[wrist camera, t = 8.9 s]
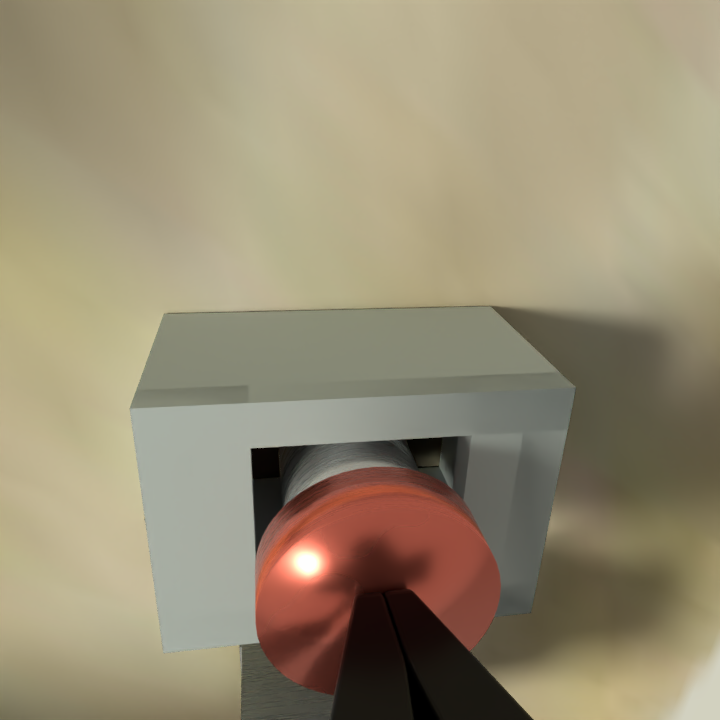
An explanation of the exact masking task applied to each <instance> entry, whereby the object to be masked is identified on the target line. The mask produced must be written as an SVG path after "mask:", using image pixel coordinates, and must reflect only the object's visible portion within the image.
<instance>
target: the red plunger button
mask: <svg viewBox="0 0 720 720" xmlns="http://www.w3.org/2000/svg"><path fill="white" fill-rule="evenodd" d="M278 455H279V467H280V480H281V493H282V506H283V508H282V509H281V510H280V511H279V512H278V513H277V514H276V516H275V517H274V518H273V520H272V521H271V522H270V524H269V525H268V527H267V529H266V531H265V532H264V534H263V536H262V538H261V541H260V544H259V546H258V550H257V555H256V559H255V624H256V631H257V637H258V640H259V643H260V646H261V648H262V650H263V652H264V653H265V655H266V657H267V658H268V660H269V661H270V662H271V663H272V665H273V666H274V667H275V668H276V669H277V670H278V671H280V672H281V673H282V674H283V675H284V676H286V677H287V678H289V679H290V680H292V681H293V682H295V683H297V684H299V685H301V686H303V687H305V688H308V689H311V690H314V691H317V692H320V693H325V694H330V695H334V692H335V687H336V682H337V677H338V672H339V668H340V663H341V658H342V653H343V648H344V643H345V638H346V634H347V629H348V624H349V619H350V614H351V609H352V604H353V600H354V597H355V595H357V594H361V593H371V592H380V593H382V594H384V593H385V592H386V591H391V590H401V589H410V590H412V591H413V592H415V593H416V595H417V596H418V597H419V598H420V599H421V600H422V601H423V602H424V603H425V604H426V605H427V606H428V607H429V608H430V610H431V611H432V612H433V613H434V614H435V615H436V616H437V617H438V618H439V619H440V620H441V621H442V622H443V623H444V625H445V626H446V627H447V628H448V629H449V630H450V631H451V632H452V633H453V634H454V635H455V636H456V637H457V638H458V640H459V641H460V642H461V643H462V644H463V645H464V646H465V647H466V648H467V649H468V650H469V651H471V650H472V649H473V648H474V647H475V646H476V644H477V643H478V642H479V641H480V639H481V638H482V637H483V635H484V634H485V633H486V631H487V629H488V628H489V626H490V624H491V623H492V621H493V618H494V616H495V613H496V611H497V607H498V603H499V599H500V591H501V582H500V573H499V569H498V565H497V562H496V560H495V558H494V556H493V554H492V552H491V550H490V548H489V546H488V544H487V542H486V540H485V538H484V536H483V534H482V532H481V530H480V528H479V526H478V524H477V522H476V521H475V519H474V517H473V515H472V513H471V511H470V509H469V507H468V506H467V504H466V503H465V502H464V500H463V499H462V498H461V497H460V496H459V495H458V494H457V493H456V492H455V491H454V490H453V489H452V488H451V487H449V486H448V485H446V484H445V483H444V482H442V481H440V480H438V479H436V478H434V477H432V476H430V475H427V474H425V473H422V472H419V469H418V467H417V465H416V462H415V460H414V458H413V455H412V453H411V451H410V448H409V446H408V444H407V442H406V439H401V440H385V441H368V442H351V443H334V444H317V445H300V446H283V447H278Z"/></svg>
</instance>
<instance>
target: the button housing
mask: <svg viewBox="0 0 720 720" xmlns="http://www.w3.org/2000/svg"><path fill="white" fill-rule="evenodd" d="M575 391H576V387H575V386H574V385H573V384H572V383H571V382H570V381H569V380H568V379H567V378H566V377H564V376H563V375H562V374H561V373H560V372H559V371H558V370H557V369H556V368H555V367H554V366H553V365H552V364H551V363H550V362H549V361H548V360H547V359H545V358H544V357H543V356H542V355H541V354H540V353H539V352H538V351H537V350H536V349H535V348H534V347H533V346H532V345H531V344H530V343H529V342H528V341H526V340H525V339H524V338H523V337H522V336H521V335H520V334H519V333H518V332H517V331H516V330H515V329H514V328H513V327H512V326H511V325H510V324H509V323H507V322H506V321H505V320H504V319H503V318H502V317H501V316H500V315H499V314H498V313H497V312H496V311H495V310H494V309H493V308H492V307H491V306H479V307H436V308H394V309H351V310H309V311H267V312H224V313H182V314H164V315H163V318H162V321H161V323H160V326H159V329H158V332H157V335H156V337H155V340H154V343H153V346H152V348H151V351H150V354H149V357H148V360H147V362H146V365H145V368H144V371H143V373H142V376H141V379H140V382H139V384H138V387H137V390H136V393H135V396H134V398H133V401H132V404H131V407H130V414H131V421H132V429H133V436H134V443H135V450H136V457H137V465H138V472H139V479H140V486H141V494H142V501H143V508H144V515H145V523H146V530H147V537H148V544H149V552H150V559H151V566H152V573H153V581H154V588H155V595H156V602H157V609H158V617H159V624H160V631H161V638H162V646H163V653H171V652H180V651H189V650H198V649H207V648H216V647H225V646H235V645H244V644H253V643H259V640H258V637H257V631H256V624H255V559H256V555H257V550H258V546H259V544H260V541H261V538H262V536H263V534H264V532H265V531H266V529H267V527H268V525H269V524H270V522H271V521H272V520H273V518H274V517H275V516H276V514H277V513H278V512H279V511H280V510H281V509H282V508H283V506H282V493H281V480H280V477H278V478H264V479H253V476H252V454H251V448H266V447H283V446H300V445H317V444H334V443H351V442H368V441H385V440H401V439H418V438H435V437H442V444H441V454H440V464H439V467H428V468H418V469H419V472H422V473H425V474H427V475H430V476H432V477H434V478H436V479H438V480H440V481H442V482H444V483H445V484H446V485H448V486H449V487H451V488H452V489H453V490H454V491H455V492H456V493H457V494H458V495H459V496H460V497H461V498H462V499H463V500H464V502H465V503H466V504H467V506H468V507H469V509H470V511H471V513H472V515H473V517H474V519H475V521H476V522H477V524H478V526H479V528H480V530H481V532H482V534H483V536H484V538H485V540H486V542H487V544H488V546H489V548H490V550H491V552H492V554H493V556H494V558H495V560H496V562H497V565H498V569H499V573H500V582H501V591H500V599H499V603H498V607H497V611H496V613H495V616H494V617H499V616H508V615H517V614H526V613H531V610H532V605H533V600H534V595H535V590H536V585H537V580H538V575H539V570H540V565H541V560H542V555H543V550H544V545H545V540H546V535H547V530H548V525H549V520H550V515H551V510H552V505H553V501H554V496H555V491H556V486H557V481H558V476H559V471H560V466H561V461H562V456H563V451H564V446H565V441H566V436H567V431H568V426H569V421H570V416H571V411H572V406H573V401H574V396H575Z"/></svg>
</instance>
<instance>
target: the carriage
mask: <svg viewBox="0 0 720 720" xmlns="http://www.w3.org/2000/svg"><path fill="white" fill-rule="evenodd" d="M240 661H241V676H242V685H241V720H329V716H330V711H331V706H332V702H333V697H334V695H330V694H325V693H320V692H317V691H314V690H311V689H308V688H305V687H303V686H301V685H299V684H297V683H295V682H293V681H292V680H290V679H289V678H287V677H286V676H284V675H283V674H282V673H281V672H280V671H278V670H277V669H276V668H275V667H274V666H273V665H272V663H271V662H270V661H269V660H268V658H267V657H266V655H265V653H264V652H263V650H262V648H261V646H260V643H253V644H244V645H240Z"/></svg>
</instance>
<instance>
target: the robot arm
mask: <svg viewBox="0 0 720 720" xmlns="http://www.w3.org/2000/svg"><path fill="white" fill-rule="evenodd" d="M329 720H533V719H532V718H531V717H530V716H529V714H528V713H527V712H526V711H525V710H524V709H523V708H522V707H521V706H520V705H519V704H518V703H517V702H516V701H515V699H514V698H513V697H512V696H511V695H510V694H509V693H508V692H507V691H506V690H505V689H504V688H503V687H502V686H501V684H500V683H499V682H498V681H497V680H496V679H495V678H494V677H493V676H492V675H491V674H490V673H489V672H488V671H487V669H486V668H485V667H484V666H483V665H482V664H481V663H480V662H479V661H478V660H477V659H476V658H475V657H474V656H473V654H472V653H471V652H470V651H469V650H468V649H467V648H466V647H465V646H464V645H463V644H462V643H461V642H460V641H459V640H458V638H457V637H456V636H455V635H454V634H453V633H452V632H451V631H450V630H449V629H448V628H447V627H446V626H445V625H444V623H443V622H442V621H441V620H440V619H439V618H438V617H437V616H436V615H435V614H434V613H433V612H432V611H431V610H430V608H429V607H428V606H427V605H426V604H425V603H424V602H423V601H422V600H421V599H420V598H419V597H418V596H417V595H416V593H415V592H413V591H412V590H410V589H401V590H391V591H386V592H385V593H384V594H382V593H380V592H371V593H361V594H357V595H355V597H354V600H353V604H352V609H351V614H350V619H349V624H348V629H347V634H346V638H345V643H344V648H343V653H342V658H341V663H340V668H339V672H338V677H337V682H336V687H335V692H334V697H333V702H332V706H331V711H330V716H329Z"/></svg>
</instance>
